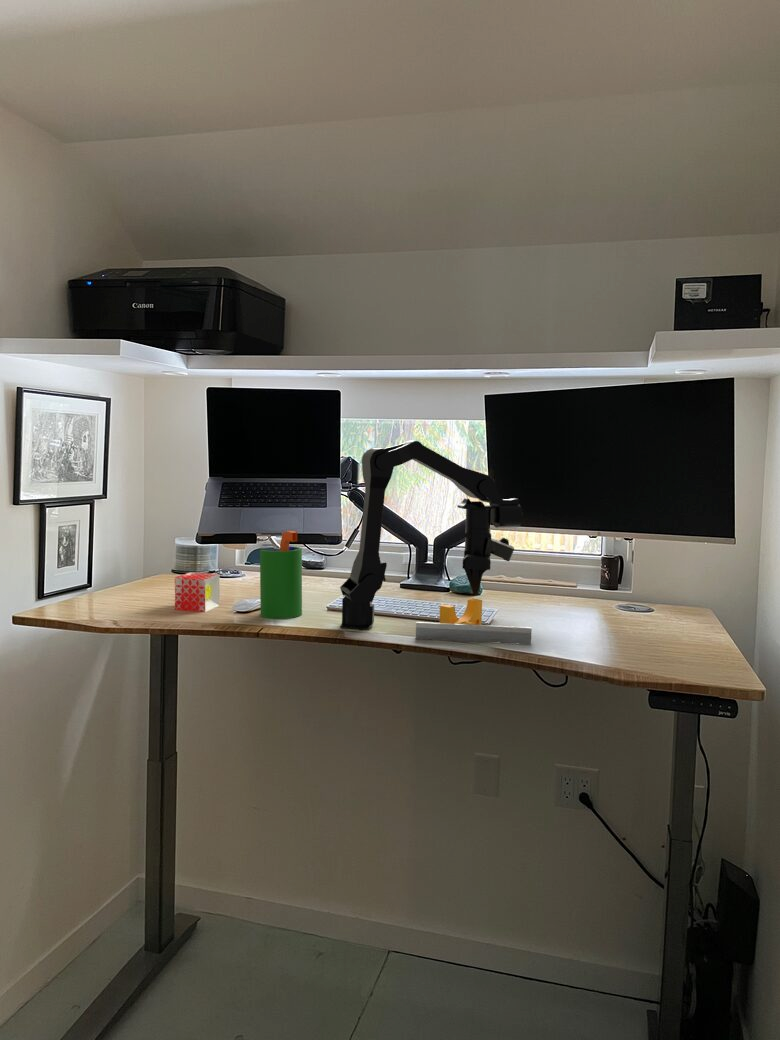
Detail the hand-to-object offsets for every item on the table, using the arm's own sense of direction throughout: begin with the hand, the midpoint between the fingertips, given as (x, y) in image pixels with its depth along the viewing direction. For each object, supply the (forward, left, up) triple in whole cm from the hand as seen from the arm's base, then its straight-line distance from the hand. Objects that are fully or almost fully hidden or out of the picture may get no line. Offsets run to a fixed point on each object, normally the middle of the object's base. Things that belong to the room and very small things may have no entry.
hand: (475, 594), depth 186 cm
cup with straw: (-45, -4, -6) cm, 46 cm away
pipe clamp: (-2, -12, -6) cm, 14 cm away
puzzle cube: (-67, -1, -6) cm, 68 cm away
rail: (0, -20, -6) cm, 21 cm away
